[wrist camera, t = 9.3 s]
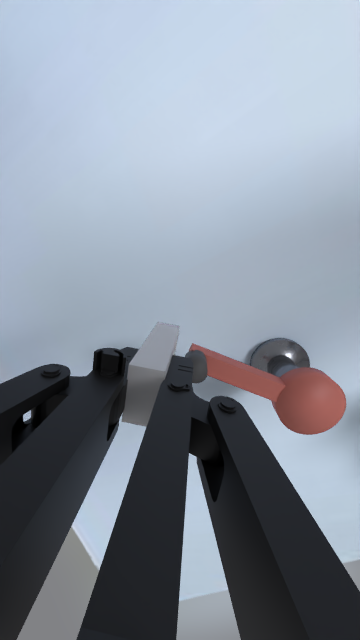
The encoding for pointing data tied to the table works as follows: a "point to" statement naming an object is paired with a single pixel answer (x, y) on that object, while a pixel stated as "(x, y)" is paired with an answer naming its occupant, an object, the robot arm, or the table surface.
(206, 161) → the table surface
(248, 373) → the red joystick lever
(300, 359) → the dark grey metal pedestal
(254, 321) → the table surface
